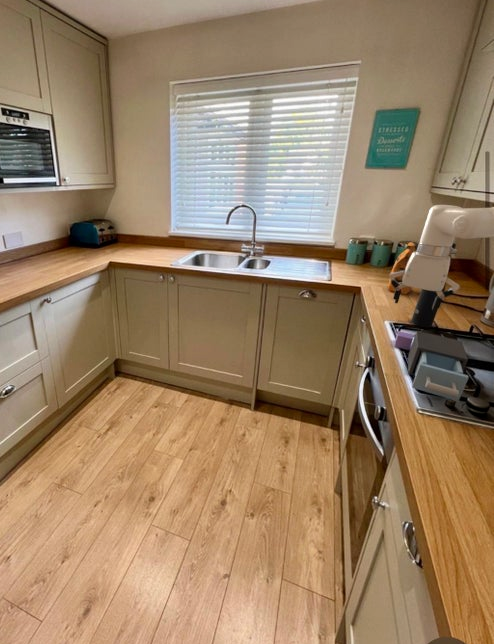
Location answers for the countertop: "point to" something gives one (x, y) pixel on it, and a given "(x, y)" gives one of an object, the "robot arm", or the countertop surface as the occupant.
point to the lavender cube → (403, 340)
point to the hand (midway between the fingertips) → (414, 305)
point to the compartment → (435, 349)
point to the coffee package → (402, 267)
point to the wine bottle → (426, 307)
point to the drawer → (439, 376)
